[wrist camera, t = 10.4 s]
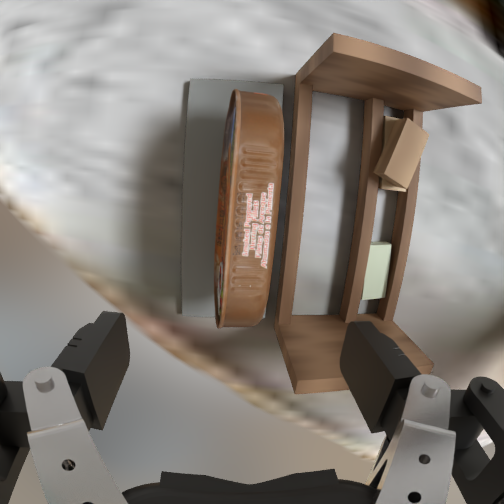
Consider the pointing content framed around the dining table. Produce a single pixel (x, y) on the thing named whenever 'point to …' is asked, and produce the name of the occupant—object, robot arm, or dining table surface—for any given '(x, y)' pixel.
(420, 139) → the offcut oak
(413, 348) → the rack
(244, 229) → the tin
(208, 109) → the felt mat
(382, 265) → the offcut sage
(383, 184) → the offcut maple
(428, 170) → the dining table surface
